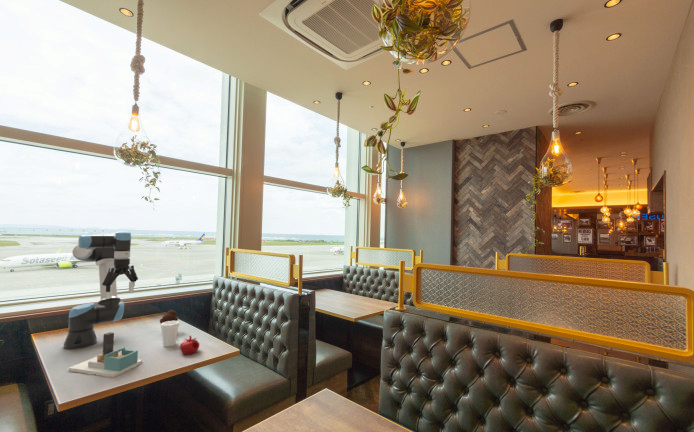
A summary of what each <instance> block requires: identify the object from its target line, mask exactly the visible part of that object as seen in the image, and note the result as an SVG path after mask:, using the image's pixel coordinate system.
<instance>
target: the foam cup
mask: <svg viewBox="0 0 694 432" xmlns="http://www.w3.org/2000/svg"><path fill="white" fill-rule="evenodd" d="M179 327H180V321H167V322H163V323H162V324H161V323H160V329H161V337H162V345H163V347H172V346H175V345H176V341H177V336H178V331H179Z"/></svg>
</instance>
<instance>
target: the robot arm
mask: <svg viewBox="0 0 694 432" xmlns="http://www.w3.org/2000/svg"><path fill="white" fill-rule="evenodd" d="M131 240H132V233H131V232H130V231H115V234H83V235H82V234H81V235H79V236H78V240H77V241H78V243H77V244H76V246H74V247H73V249H72V256H73V257H74V259H77V260H79V261H82V262H87V263H88V262H91V263H92V262H95V265H96V266H98V276H99V292H100V293H99V294H100V295H99V296H100V300H99V301H98V302H97V304H95V303H94V302H89V303H88V302H87V303H83V304H78V305H75V306H73V307H72V308H70V310H69V312H68V330H67V331H68V332H67V335H66V337H65V341H64V342H63V349H66V350H75V349H82V348H85V347H86V348H87V347H88V346H92V345H94V344H95V343H97V341H98V338H97V336H96V332H95V330H94V327H95V325H99V324H104V323H105V324H106V323H111V322H112V323H113V322H117V321H120V320H122V318H123V315H124V312H125V302H124V301H122V300H121V298H120V297H118V289H117V288H118V287H117V278H118V277H119V276H120V275H121V276H122V275H124V276H126V277H127V279H128V280H129V282H128V293H129V294H130V293H131V294H133V293H134V287H135V285H136V284H135V283H136V282H137V281H139V277H138V275H137V272H136V270H135V265H132V264H131V265H130V263H131V261H130V260H131V243H132V241H131Z"/></svg>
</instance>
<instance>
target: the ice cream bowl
mask: <svg viewBox="0 0 694 432" xmlns="http://www.w3.org/2000/svg"><path fill="white" fill-rule="evenodd" d="M177 315H178V313H177V311H175V310H174V309H170V310H168V311H167V312H166V313H165V314H164V315H163V316H162V317H161V318H159V323H160V325H161V324H162V323H163V322H167V321H178V320H179V317H178V316H177Z"/></svg>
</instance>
